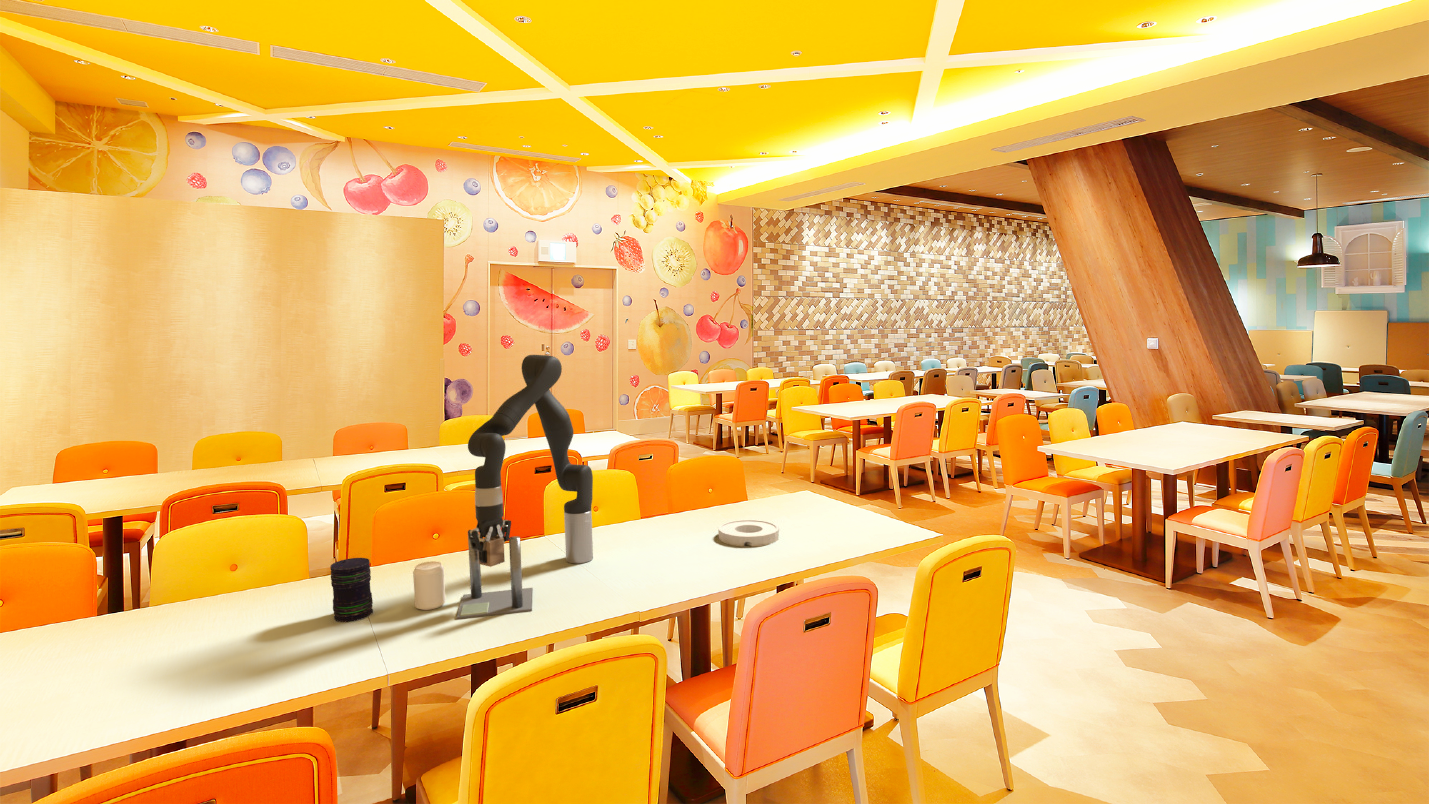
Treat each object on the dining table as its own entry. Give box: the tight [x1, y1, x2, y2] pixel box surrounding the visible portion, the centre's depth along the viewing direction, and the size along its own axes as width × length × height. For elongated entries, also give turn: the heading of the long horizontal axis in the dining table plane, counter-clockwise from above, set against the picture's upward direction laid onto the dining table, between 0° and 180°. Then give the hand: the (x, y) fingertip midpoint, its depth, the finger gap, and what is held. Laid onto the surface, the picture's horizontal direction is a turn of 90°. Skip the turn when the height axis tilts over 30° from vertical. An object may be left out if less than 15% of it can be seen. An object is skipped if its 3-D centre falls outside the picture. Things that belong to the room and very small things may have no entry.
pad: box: [461, 603, 488, 614], centre depth 191 cm, size 7×7×1 cm
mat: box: [456, 587, 534, 620], centre depth 197 cm, size 17×20×1 cm
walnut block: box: [478, 537, 506, 568], centre depth 195 cm, size 5×5×7 cm
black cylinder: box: [329, 557, 374, 623], centre depth 189 cm, size 10×10×15 cm
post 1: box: [467, 532, 483, 599], centre depth 199 cm, size 3×3×20 cm
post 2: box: [508, 535, 523, 608], centre depth 192 cm, size 3×3×20 cm
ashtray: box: [717, 519, 780, 547], centre depth 258 cm, size 23×23×4 cm
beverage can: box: [412, 560, 446, 611], centre depth 195 cm, size 8×8×12 cm
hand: (491, 559), depth 195 cm, fingers closed on walnut block, 5 cm apart
